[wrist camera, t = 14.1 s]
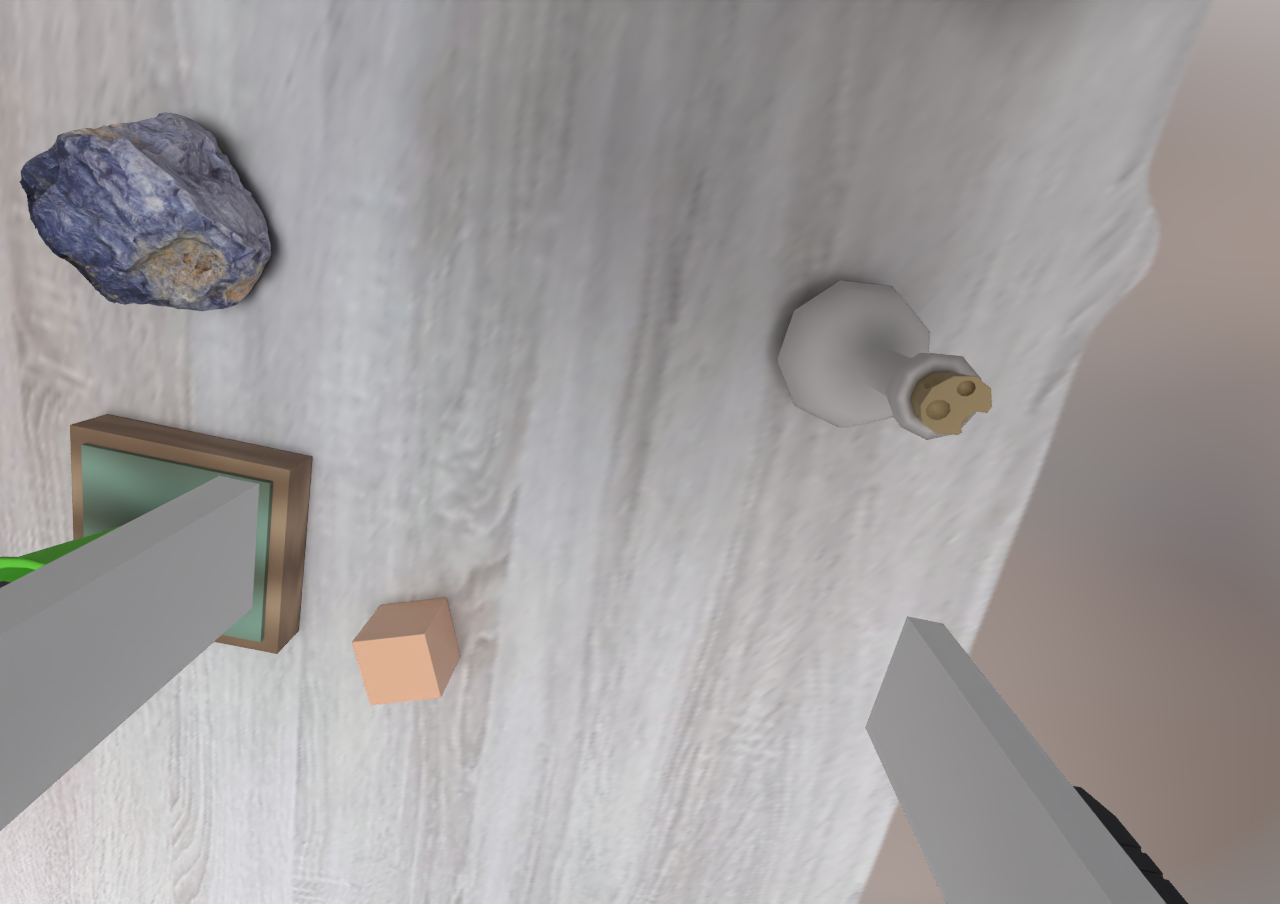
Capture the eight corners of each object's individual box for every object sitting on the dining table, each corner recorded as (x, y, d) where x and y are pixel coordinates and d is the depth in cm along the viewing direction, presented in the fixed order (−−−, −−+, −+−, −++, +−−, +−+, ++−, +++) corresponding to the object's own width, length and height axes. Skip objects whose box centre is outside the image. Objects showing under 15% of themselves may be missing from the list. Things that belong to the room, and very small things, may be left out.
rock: (20, 187, 39) (-44, 158, 30) (191, 113, 42) (176, 68, 33) (157, 346, 43) (135, 359, 35) (301, 268, 47) (313, 263, 38)
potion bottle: (932, 330, 43) (1122, 382, 26) (841, 437, 45) (960, 551, 28) (828, 247, 42) (956, 242, 24) (740, 361, 44) (799, 431, 26)
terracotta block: (380, 604, 49) (351, 642, 44) (446, 596, 49) (424, 634, 44) (396, 662, 51) (370, 705, 46) (460, 655, 50) (440, 697, 46)
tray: (106, 414, 45) (64, 426, 42) (312, 456, 46) (286, 472, 43) (109, 594, 49) (71, 618, 46) (298, 630, 50) (274, 657, 47)
